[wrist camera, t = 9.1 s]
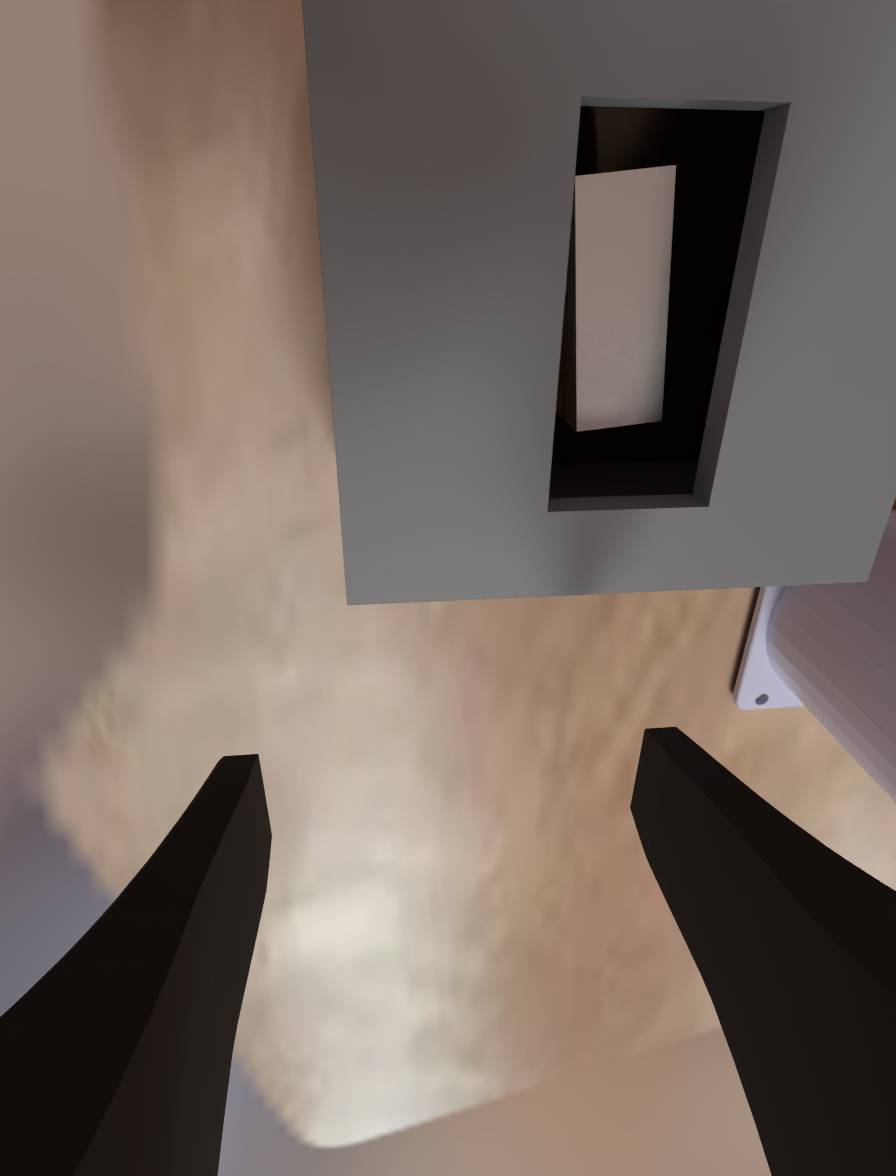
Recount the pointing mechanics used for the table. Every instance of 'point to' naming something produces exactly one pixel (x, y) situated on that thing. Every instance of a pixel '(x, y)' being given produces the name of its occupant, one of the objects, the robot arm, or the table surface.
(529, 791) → the table surface
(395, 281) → the coin box
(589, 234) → the block
